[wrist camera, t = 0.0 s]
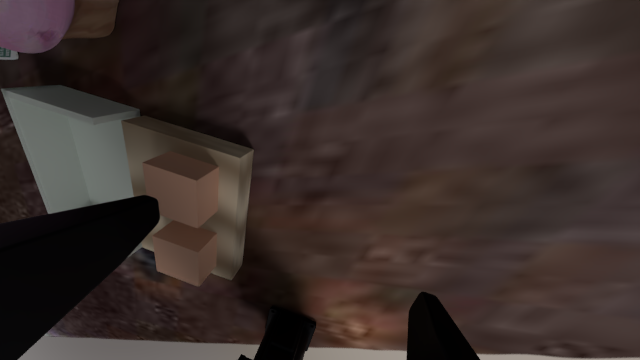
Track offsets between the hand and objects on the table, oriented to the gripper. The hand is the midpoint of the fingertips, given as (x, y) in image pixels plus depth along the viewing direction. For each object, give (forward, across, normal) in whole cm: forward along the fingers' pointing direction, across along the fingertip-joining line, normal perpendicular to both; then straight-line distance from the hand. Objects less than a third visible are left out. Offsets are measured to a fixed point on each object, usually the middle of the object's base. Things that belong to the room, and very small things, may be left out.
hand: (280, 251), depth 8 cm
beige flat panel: (+15, +14, +12) cm, 23 cm away
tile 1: (+12, +12, +8) cm, 19 cm away
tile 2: (+12, +12, +16) cm, 24 cm away
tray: (+15, +25, +12) cm, 31 cm away
